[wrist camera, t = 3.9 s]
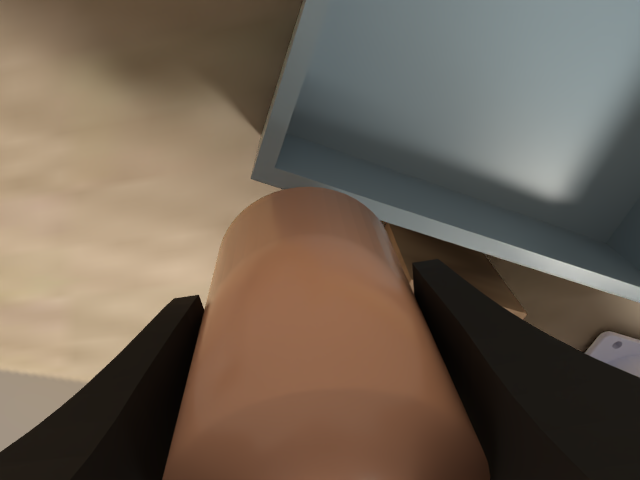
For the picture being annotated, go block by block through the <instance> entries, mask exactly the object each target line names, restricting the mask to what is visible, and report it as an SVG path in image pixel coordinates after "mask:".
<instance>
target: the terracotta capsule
mask: <svg viewBox="0 0 640 480" xmlns="http://www.w3.org/2000/svg"><path fill="white" fill-rule="evenodd" d="M162 480H490V472H489V466H488V461H487V459H486V456H485V454H484V451H483V449H482V447H481V444H480V442H479V440H478V438H477V435H476V433H475V431H474V428H473V426H472V424H471V422H470V419H469V417H468V415H467V413H466V410H465V408H464V406H463V404H462V401H461V399H460V397H459V395H458V392H457V390H456V388H455V386H454V383H453V381H452V379H451V377H450V374H449V372H448V370H447V367H446V365H445V363H444V361H443V358H442V356H441V354H440V352H439V349H438V347H437V345H436V343H435V340H434V338H433V336H432V334H431V331H430V329H429V327H428V325H427V322H426V320H425V318H424V315H423V313H422V311H421V309H420V306H419V304H418V302H417V300H416V297H415V295H414V293H413V291H412V288H411V286H410V284H409V282H408V279H407V277H406V275H405V273H404V270H403V268H402V266H401V263H400V261H399V259H398V257H397V254H396V252H395V250H394V248H393V245H392V243H391V241H390V239H389V236H388V234H387V232H386V230H385V228H384V226H383V225H382V223H381V222H380V220H379V219H378V218H377V217H376V215H375V214H374V213H373V212H372V211H371V210H370V209H368V208H367V207H366V206H365V205H364V204H362V203H361V202H359V201H358V200H356V199H354V198H352V197H350V196H348V195H346V194H344V193H341V192H338V191H335V190H331V189H326V188H320V187H296V188H290V189H284V190H281V191H277V192H274V193H272V194H269V195H267V196H265V197H262V198H261V199H259V200H257V201H256V202H254V203H252V204H251V205H250V206H248V207H247V208H246V209H245V210H243V211H242V212H241V213H240V214H239V215H238V216H237V217H236V218H235V219H234V221H233V222H232V224H231V225H230V226H229V228H228V230H227V232H226V233H225V235H224V237H223V240H222V243H221V246H220V249H219V253H218V257H217V261H216V265H215V269H214V273H213V277H212V281H211V285H210V289H209V293H208V297H207V302H206V306H205V310H204V314H203V318H202V322H201V326H200V330H199V334H198V338H197V342H196V346H195V350H194V354H193V358H192V362H191V366H190V370H189V374H188V378H187V382H186V386H185V390H184V394H183V398H182V402H181V406H180V410H179V414H178V418H177V422H176V426H175V430H174V434H173V438H172V442H171V446H170V450H169V454H168V458H167V462H166V466H165V470H164V474H163V478H162Z"/></svg>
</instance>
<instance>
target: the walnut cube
mask: <svg viewBox="0 0 640 480" xmlns="http://www.w3.org/2000/svg"><path fill="white" fill-rule="evenodd" d="M385 230H386V232H387V234H388V236H389V239H390V241H391V243H392V245H393V248H394V250H395V252H396V254H397V257H398V259H399V261H400V263H401V266H402V268H403V270H404V273H405V275H406V277H407V279H408V282H409V284H410V286H411V288H412V291H413V293H414V285H413V269H412V263H414V262H421V261H427V260H434V259H439V260H440V261H442V262H443V263H444V264H445V265H447V266H448V267H449V268H451V269H452V270H453V271H454V272H456V273H457V274H458V275H460V276H461V277H462V278H463V279H465V280H466V281H467V282H469V283H470V284H471V285H473V286H474V287H475V288H477V289H478V290H479V291H481V292H482V293H483V294H485V295H486V296H488V297H489V298H490V299H492V300H493V301H495V302H496V303H498V304H499V305H501V306H502V307H504V308H505V309H507V310H508V311H510V312H511V313H513V314H514V315H516V316H518V317H519V318H521V319H522V320H524V318H525V317H526V315H527V313H526V311H525V310H524V309H523V307H522V306H521V304H520V303H519V302H518V300H517V299H516V298H515V296H514V295H513V293H512V292H511V291H510V289H509V288H508V287H507V285H506V284H505V282H504V281H503V280H502V278H501V277H500V275H499V274H498V273H497V271H496V270H495V269H494V267H493V266H492V264H491V263H490V262H489V260H488V259H487V258H486V256H485V255H484V253H482V252H479V251H475V250H472V249H469V248H466V247H463V246H460V245H457V244H453V243H450V242H447V241H444V240H441V239H438V238H435V237H432V236H428V235H425V234H422V233H419V232H416V231H413V230H410V229H406V228H403V227H400V226H397V225H394V224H391V223H388V222H387V224H386V226H385Z"/></svg>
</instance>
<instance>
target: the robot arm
mask: <svg viewBox="0 0 640 480" xmlns="http://www.w3.org/2000/svg"><path fill="white" fill-rule="evenodd" d="M412 269H413V285H414V295H415V297H416V300H417V302H418V304H419V306H420V309H421V311H422V313H423V315H424V318H425V320H426V322H427V325H428V327H429V329H430V331H431V334H432V336H433V338H434V340H435V343H436V345H437V347H438V349H439V352H440V354H441V356H442V358H443V361H444V363H445V365H446V367H447V370H448V372H449V374H450V377H451V379H452V381H453V383H454V386H455V388H456V390H457V392H458V395H459V397H460V399H461V401H462V404H463V406H464V408H465V410H466V413H467V415H468V417H469V419H470V422H471V424H472V426H473V428H474V431H475V433H476V435H477V438H478V440H479V442H480V444H481V447H482V449H483V451H484V454H485V456H486V459H487V461H488V466H489V472H490V480H640V340H638V339H635V338H632V337H628V336H625V335H621V334H618V333H615V332H611V331H607V332H603V333H601V334H600V335H599V336H598V337H597V338H596V340H595V341H594V342H593V343H592V345H591V346H590V347H589V348H588V349H587V351H586V352H585V353H583V352H581V351H579V350H577V349H575V348H573V347H571V346H569V345H567V344H565V343H563V342H561V341H559V340H557V339H556V338H554V337H552V336H550V335H548V334H546V333H544V332H543V331H541V330H539V329H537V328H536V327H534V326H532V325H531V324H529V323H527V322H526V321H524V320H522V319H521V318H519V317H518V316H516V315H514V314H513V313H511V312H510V311H508V310H507V309H505V308H504V307H502V306H501V305H499V304H498V303H496V302H495V301H493V300H492V299H490V298H489V297H488V296H486V295H485V294H483V293H482V292H481V291H479V290H478V289H477V288H475V287H474V286H473V285H471V284H470V283H469V282H467V281H466V280H465V279H463V278H462V277H461V276H460V275H458V274H457V273H456V272H454V271H453V270H452V269H451V268H449V267H448V266H447V265H445V264H444V263H443V262H442V261H440V260H439V259H434V260H427V261H421V262H414V263H412ZM203 314H204V309H203V306H202V303H201V300H200V297H199V295H195V296H188V297H181V298H175V299H173V300H172V301H171V302H170V303H169V304H168V305H167V306H165V307H164V308H163V309H162V310H161V311H160V312H159V314H158V315H157V316H156V317H155V318H154V319H153V320H152V321H151V322H150V323H149V324H148V325H147V326H146V327H145V328H144V329H143V330H142V331H141V332H140V333H139V334H138V335H137V336H136V337H135V338H134V339H133V340H132V341H131V342H130V343H129V344H128V345H127V346H126V347H125V348H124V349H123V350H122V351H121V352H120V353H119V354H118V355H117V356H116V357H115V358H114V359H113V360H112V361H111V362H110V363H109V364H108V365H107V366H106V367H105V368H104V369H103V370H101V371H100V372H99V373H98V374H97V375H96V376H95V377H94V378H93V379H92V380H91V381H90V382H89V383H88V384H86V385H85V386H84V387H83V388H82V389H81V390H80V391H79V392H78V393H76V394H75V395H74V396H73V397H72V398H71V399H69V400H68V401H67V402H66V403H65V404H63V405H62V406H61V407H60V408H59V409H57V410H56V411H55V412H54V413H52V414H51V415H50V416H49V417H47V418H46V419H45V420H44V421H42V422H41V423H40V424H39V425H37V426H36V427H35V428H33V429H32V430H31V431H29V432H28V433H26V434H25V435H24V436H23V437H21V438H20V439H18V440H17V441H16V442H14V443H12V444H11V445H10V446H8V447H7V448H5V449H4V450H3V451H1V452H0V480H162V478H163V474H164V470H165V466H166V462H167V458H168V454H169V450H170V446H171V442H172V438H173V434H174V430H175V426H176V422H177V418H178V414H179V410H180V406H181V402H182V398H183V394H184V390H185V386H186V382H187V378H188V374H189V370H190V366H191V362H192V358H193V354H194V350H195V346H196V342H197V338H198V334H199V330H200V326H201V322H202V318H203Z"/></svg>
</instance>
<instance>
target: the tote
mask: <svg viewBox="0 0 640 480" xmlns="http://www.w3.org/2000/svg"><path fill="white" fill-rule="evenodd" d="M251 179H253V180H256V181H259V182H262V183H265V184H268V185H271V186H275V187H278V188H281V189H290V188H296V187H320V188H326V189H331V190H335V191H338V192H341V193H344V194H346V195H348V196H350V197H352V198H354V199H356V200H358V201H359V202H361V203H362V204H364V205H365V206H366V207H367V208H368V209H370V210H371V211H372V212H373V213H374V214H375V215H376V217H377V218H378V219H379V220H381V221H384V222H388V223H391V224H394V225H397V226H400V227H403V228H406V229H410V230H413V231H416V232H419V233H422V234H425V235H428V236H432V237H435V238H438V239H441V240H444V241H447V242H450V243H453V244H457V245H460V246H463V247H466V248H469V249H472V250H475V251H479V252H482V253H485V254H488V255H491V256H494V257H497V258H501V259H504V260H507V261H510V262H513V263H516V264H519V265H523V266H526V267H529V268H532V269H535V270H538V271H541V272H544V273H548V274H551V275H554V276H557V277H560V278H563V279H566V280H570V281H573V282H576V283H579V284H582V285H585V286H588V287H592V288H595V289H598V290H601V291H604V292H607V293H610V294H614V295H617V296H620V297H623V298H626V299H629V300H632V301H636V302H639V303H640V0H303V2H302V5H301V8H300V11H299V15H298V18H297V21H296V24H295V28H294V31H293V34H292V37H291V40H290V44H289V47H288V50H287V53H286V57H285V60H284V63H283V66H282V70H281V73H280V76H279V79H278V83H277V86H276V89H275V92H274V96H273V99H272V102H271V105H270V109H269V112H268V115H267V118H266V122H265V125H264V128H263V131H262V134H261V138H260V142H259V146H258V151H257V155H256V159H255V163H254V167H253V171H252V175H251Z"/></svg>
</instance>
